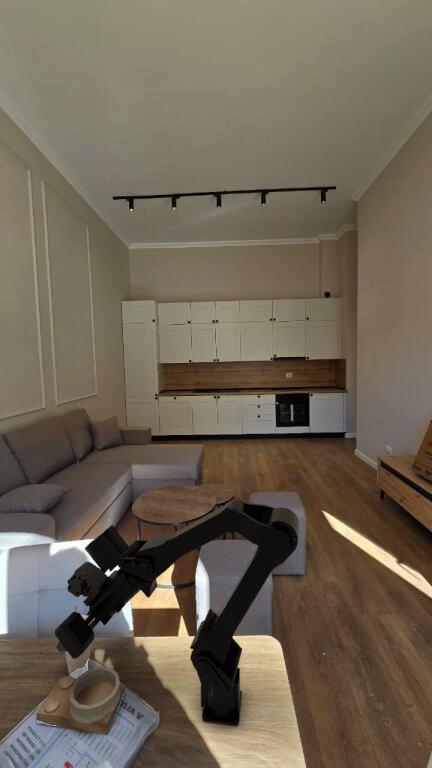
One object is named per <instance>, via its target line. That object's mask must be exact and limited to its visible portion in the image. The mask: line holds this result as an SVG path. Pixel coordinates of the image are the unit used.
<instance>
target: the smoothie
mask: <svg viewBox="0 0 432 768" xmlns="http://www.w3.org/2000/svg"><path fill="white" fill-rule="evenodd" d="M72 611H73V612H77V605H76V604H74V605H73V609H72ZM81 616H82V617H83V618H84V620H85V619H86V618H87V617H88V615H86V614H81ZM93 620H94V619H93ZM93 620H92V621H93ZM92 621H91V622H90V623H89V624H88V625H90V624H91V623H92ZM91 647H92V643H91V644H90V645H89V646H88V648H87V649H86V650H85V651H84V652H83V653H82V654H81V655H80V656H79V657H78V658H77V659H73V658H72V657H71V656H70V654H69V653H68V652H64V653H65V659H66V665H67V671H68V676H69V675H70V674H71V673H72V672H74V671H75V670H76V669H78V668H82V667H84V666H85V664H86V662H87V660H88V659H89V660H90V658H91Z"/></svg>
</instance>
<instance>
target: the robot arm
mask: <svg viewBox="0 0 432 768" xmlns="http://www.w3.org/2000/svg"><path fill="white" fill-rule="evenodd" d="M229 532H234V533H237V534H239V535H240V536H241V537H243V538H245V539H246V540H247V541H249V542H250V543H251V544H253V545H256V549H255V552H254V553H253V555H252V557H251V558H250V560H249V561H248V563H247V565H246V566H245V568H244V570H243V572H242V573H241V574H240V577H239V578H238V580H237V582H236V583H235V586H233V589H232V590H231V592H230V593H229V595H228V597H227V599H226V600H225V602H224V604H223V606H221V609H219V610H218V611H217V612H214V610H213V609H211V608H209V609H208V611H207V614H206V616H205V618H204V620H202V621H200V625H199V626H198V629H197V631H196V633H195V636H194V637H193V639H192V642H191V644H190V646H189V649H190V650H192V651H191V653H190V658H189V659H190V662H191V664H192V667H194V670H195V671H196V674H197V676H198V680H199V682H200V707H201V708H202V714H201V721H203V722H206V723H207V722H209V723H215V724H216V723H217V724H223V725H231V726H236V727H237V726H238V725H239V724H240V718H241V717H240V715H241V707H242V706H241V705H242V690H241V667H239V665H240V661H241V656H242V652H243V648H242V647H241V646H240V644H239V643H238V642H237V641H236V640H235V638H233V637H234V635H235V633H236V631H237V629H238V628H239V626H240V625H241V623H242V621H243V620H244V618H245V616H246V614H247V613H248V611H249V610H250V608H251V606H253V605H252V604H253V603H254V602H255V599H256V598H257V596H258V595H259V593H260V592H261V590H262V588H263V586H264V584H265V583H266V582H267V580H268V578H269V576H270V575H271V573H272V572H273V571H274V570H275V569H277V568H279V567H280V566H281V565H283V564H284V563H285V562H286V561H287V559H289V557H291V556H292V554H293V553H294V552H295V551H296V550H297V547H298V543H299V532H300V521H299V517H298V516H297V515H296V513H295V512H294V511H293V510H291V509H290V508H287V507H281V506H280V507H273V506H269V505H267V504H261V503H249V502H245V501H242V500H239V499H232V500H229V501H228V502H227V503H226V504H225V505H223V506H221V507H219V508H218V509H215V510H214V511H212V512H210V513H208V514H206V515H205V516H203V517H201V518H199V519H197V520H196V521H194V522H192V523H190V524H189V525H187V526H185V527H183V528H181V529H179V530H177V531H173V532H164V533H161V534H158V535H154V536H152V537H151V538H150V539H134V541H133V542H132V543H130V545H129V543H127V542H126V540H125V539H124V538H123V537H122V536H121V535H120V533H119V531H118V530H117V528H116V527H115V526H114V524H111V525H110V526H108V527H107V528H106V529H105V530H104V531H103V532H102V533H101V534H99V535H98V536H97V537H95V538H94V539H93V540H92V541H90V542H89V543H88V544H87V545H86V546H85V548H84V550H85V552H86V553H87V554H88V555H89V557H90V558H91V559H92V560H93V562H94V563H95V564H94V563H92V562H91V561H84V563H83V564H81V565H80V566H79V567H78V568H76V569H75V570H74V573H73V574H72V575H71V577H70V578H69V579H68V580H66V581H67V588H66V589H67V591H68V593H70V594H71V595H73V596H74V597H76V598H79V597H80V596H82V597H84V598H85V597H86V598H85V599H84V600H83V601H82V602H83V603H84V605H85V606H86V607H87V608H88V611H87V613H86V614H85V615H88V617H87V618H86V619H85V620H84V618H83V617H82V616H81V615H82V614H81V613H80V612H77V611H76V612H74V611H73V612H71V613H70V614H69V615H68V616H67V617H66V619H64V620H63V621H62V622H61V623H60V624H59V625H58V626H57V627H56V628H55V629H54V635H55V637H56V638H57V639H58V643H57V645H56V646H55V648H56V649H57V651H58V652H61V653H62V652H63V653H65V652H68V653H69V654H70V656H71V657H72V658H73V659H77V658H78V657H79V656H80V655H81V654H82V653H83V652H84V651H85V650H86V649H87V648H88V646H89V645H90V644H91V645H92V643H93V642H94V640H95V631H94V629H95V627H96V626H97V625H98V624H99V623H100V622H101V624H102V625H103V626H106V625H107V624H108V623H109V622H110V620H111V619H112V618H113V617H114V615H116V614H119V613H120V612H121V611H122V610H123V608H125V606H126V605H127V604H128V603H129V602H131V600H132V599H133V598H134V597H135V596H136V595H137V594H138V593H139V592H142V593H143V594H144V596H146V598H148V599H149V598H150V597H151V596H152V595H153V593H154V592H155V590H156V589H157V588H158V581H157V579H158V578H159V577H160V576H161V575H163V574H164V573H165V572H166V571H167V570H168V569H169V568H170V567H172V565H174V564H175V563H176V562H177V561H178V560H179V559H181V558H182V557H183V556H186V555H187V554H189V553H191V552H193V551H194V550H197V549H199V548H200V547H203V546H204V545H206V544H208V543H210V542H212V541H215V540H216V539H218V538H220V537H222V536H224V535H226V534H228V533H229ZM116 567H118V569H115V568H116ZM114 569H115V570H114ZM108 571H109V572H110V573H111V574H110V575H107V574H106V573H107V572H108ZM92 620H93V621H92ZM91 621H92V623H91V624H90V625H88V624H89V623H90V622H91Z"/></svg>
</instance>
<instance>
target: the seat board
mask: <svg viewBox="0 0 432 768" xmlns="http://www.w3.org/2000/svg"><path fill="white" fill-rule="evenodd" d="M124 691H125V692H126V685H125V684H123V683H122V684H121V683H120V676H119V673H117V672H116V671H115V670H114V669H113V668H112V667H106V666H97V667H95V668H91V669H88V671H86V672H85V673H83V674H82V675H81V676H79V677H78V678H77V679H75V678H73V677H72V676H69V675H67V676H60V678H59V679H58V680H57V682H56V683H55V685H54V686H53V687H52V689H51V691H50V692H49V694H48V695H47V697H46V698H45V700H44V701H43V702H42V704H41V705H40V707H39V708H38V710H36V713H35V714H36V721H37V720H39V721H42V722H44V723H47V724H50V725H56V726H59V727H58V728H60V727H62V728H61V729H67V730H74V731H81V732H86V733H94V734H100V735H108V734H109V732H110V729H111V727H112V725H113V723H114V721H115V719H114V718H116V716H117V714H116V713H118V712H117V710H118V707H119V705H120V702H121V700H122V697H123V694H124ZM120 706H121V705H120ZM119 708H120V707H119ZM118 711H119V710H118ZM115 715H116V716H115Z"/></svg>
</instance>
